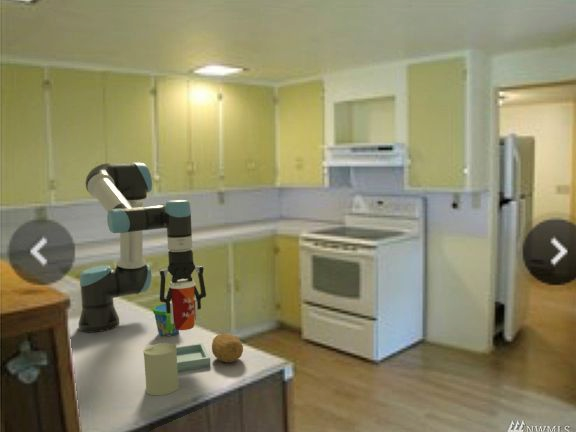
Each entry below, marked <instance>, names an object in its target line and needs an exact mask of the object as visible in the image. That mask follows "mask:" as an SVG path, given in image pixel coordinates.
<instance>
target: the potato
mask: <svg viewBox="0 0 576 432" xmlns="http://www.w3.org/2000/svg"><path fill="white" fill-rule="evenodd" d="M243 346H244V345H243V344H242V342H241V340H240V338H239V337H237V336H236V335H233V334H230V333H224V332H223V333H219V334H217V335H215V337H214V338H213V339H212V343H211V351H212V353H213V355H214V357H215V358H216V359H217V360H218V361H221V362H225V363H233V362H236V361H237V360H239V359H240V358H241V357H242V355H243V352H244V347H243Z"/></svg>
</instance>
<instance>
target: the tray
mask: <svg viewBox="0 0 576 432" xmlns="http://www.w3.org/2000/svg"><path fill="white" fill-rule="evenodd" d="M176 347H177V371H178V373H179V372H184V371H191V370H197V369H202V368H209V367H211V357H210V355H209V353H208V351H207V348H206V346H205V345H204V343H203V342H201V343H193V344H186V345H185V344H184V345H178V346H176Z"/></svg>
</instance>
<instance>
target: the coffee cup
mask: <svg viewBox="0 0 576 432" xmlns="http://www.w3.org/2000/svg"><path fill="white" fill-rule="evenodd" d="M194 286H196V282H195V280H194V279H193V281H189V280H188V279H180V280H177V283H172V282H171V281H170V282H169V285H168V288H169V287H170V288H171V292H172V298H171V301H172V303H173V316H174V324H175V329H177V330H179V331H188V330H191V329H194V327H195V316H194V299H195V294H194Z"/></svg>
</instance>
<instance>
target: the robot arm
mask: <svg viewBox="0 0 576 432" xmlns="http://www.w3.org/2000/svg"><path fill="white" fill-rule="evenodd" d="M85 189H86V190H87V192H88V193H89V195H90V196H91V197H93V198H94V199H97V201H98V203H100V205H101V206H102V207H103V209H104V210H105V212H106V213H107V215H106V219H107V220H106V221H107V222H106V223H107V226H108V229H109V231H110V233H113V234H119V248H120V249H119V254H120V255H119V256H120V258H119V259H118V260H117V261H116V263H115V264H116V266H115V267H113V268H112V267H111V265H108V264H105V265H96V266H93V267H90V268H87V269H85V270H83V271H82V272H81V273H80V274H79V286H80V296H81V306H82V307H81V313H80V315H79V316H80V317H79V320H78V330H79V331H80V332H84V333H85V332H86V333H98V332H99V333H100V332H104V331H109V330H112V329H114V328H117V327H118V326H119V325H120V316H119V314H118V312H117V311H116V307H115V303H114V299H115V298H121V297H125V296H132V295H139V294H142V293H146V292H147V291H148V290H149V289H150V287H151V284H152V278H153V277H152V268H151V266H150V265H149V263H147V261H146V260H145V258H143V251H144V250H143V237H144V236H143V232H144V231H150V230H151V231H152V230H154V231H155V230H162V229H166V235H167V236H166V237H167V249H168V250H169V251H168V252H167V253H168V254H167V255H168V265H167V268H164V269H159V271H158V272H159V275H160V284H159V285H160V287H159V302H160V303H164V304H166V311H167V313H170V321H171V324H174V318H173V303H172V299H171V298H172V292H171V288H170V287H169V286H168V291H167V293H166V292H165V291H166V277H167V276H168V273H169V274H170V275H171V276H172V277H171V281H170V282H172V283H177V280H180V279H188V280H189V281H193V280H194V279H193V277H192V274H193V272H194V271H195V272H196V273H197V277H198V284H199V288H200V293H199V290H198V289H197V286H196V285H195V286H194V321H196V322H197V321H199V310H201V308H202V302H201V301H202V299H203V298H206V297H207V292H206V287H205V286H206V285H205V281H204V274H203V273H204V269H205V268H204V267H203V266H202V265H195V263H194V252H193V249H192V248H193V236H192V235H193V233H192V232H193V231H192V216H191V215H192V209H191V204H190V203H191V202H190V201H189V200H187V199H186V200H185V199H175V200H167V201H166V202H165V203H163V204H158V205H152V206H151V205H150V206H143V205H144V204H143V203H144V201H145V200H146V199H147V196H148V193H150V192H151V191H152V190H153V180H152V175H151V172H150V169H149V167H148V165H146V163H143V162H134V161H133V162H115V163H114V162H113V163H110V162H109V163H108V162H107V163H101V164H98V165H97V166H95V167H94V168H92V169H91V170H90V171H89V172H88V174H87V175H86V178H85ZM165 293H166V297H165Z"/></svg>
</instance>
